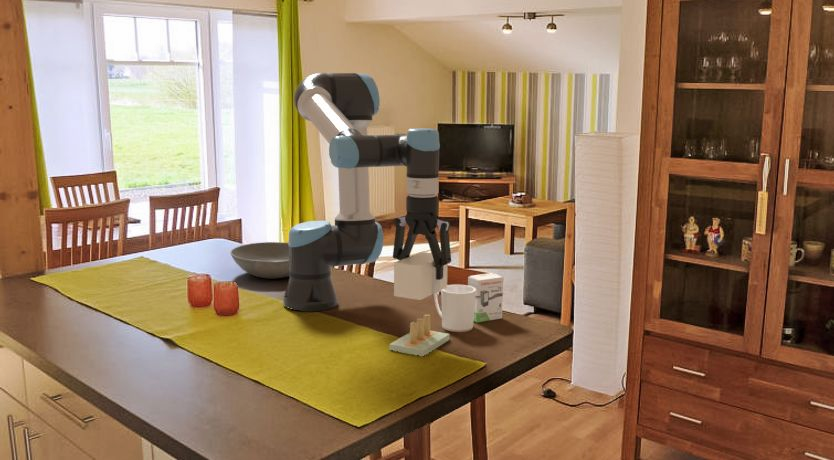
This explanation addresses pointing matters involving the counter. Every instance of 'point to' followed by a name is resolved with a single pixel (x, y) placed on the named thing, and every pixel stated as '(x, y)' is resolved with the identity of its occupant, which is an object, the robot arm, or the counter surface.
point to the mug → (457, 307)
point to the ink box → (487, 296)
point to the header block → (419, 338)
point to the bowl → (263, 259)
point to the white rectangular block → (416, 276)
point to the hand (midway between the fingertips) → (421, 290)
